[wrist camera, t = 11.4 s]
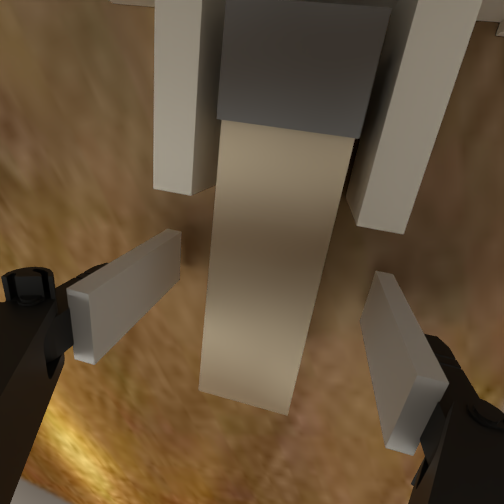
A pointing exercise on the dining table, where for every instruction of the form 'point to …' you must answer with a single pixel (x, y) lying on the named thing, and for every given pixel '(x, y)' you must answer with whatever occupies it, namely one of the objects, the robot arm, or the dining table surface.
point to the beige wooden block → (280, 182)
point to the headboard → (378, 113)
